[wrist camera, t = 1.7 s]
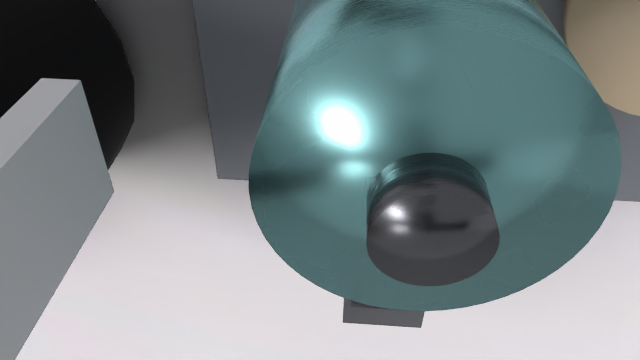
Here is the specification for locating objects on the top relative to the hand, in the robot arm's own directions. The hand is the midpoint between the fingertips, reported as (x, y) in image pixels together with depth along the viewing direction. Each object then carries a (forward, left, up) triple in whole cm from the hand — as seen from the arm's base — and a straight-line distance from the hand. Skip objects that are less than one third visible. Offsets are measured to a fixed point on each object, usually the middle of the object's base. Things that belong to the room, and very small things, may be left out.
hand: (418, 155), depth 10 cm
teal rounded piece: (0, 0, -4) cm, 4 cm away
